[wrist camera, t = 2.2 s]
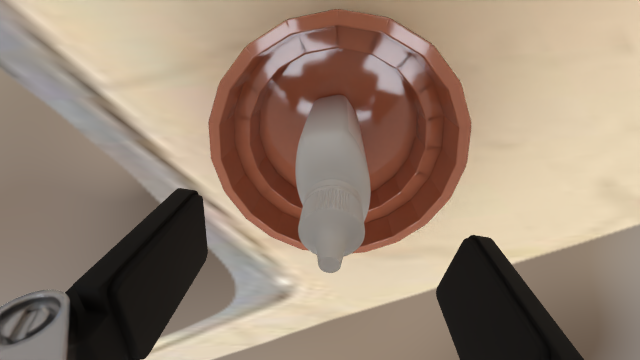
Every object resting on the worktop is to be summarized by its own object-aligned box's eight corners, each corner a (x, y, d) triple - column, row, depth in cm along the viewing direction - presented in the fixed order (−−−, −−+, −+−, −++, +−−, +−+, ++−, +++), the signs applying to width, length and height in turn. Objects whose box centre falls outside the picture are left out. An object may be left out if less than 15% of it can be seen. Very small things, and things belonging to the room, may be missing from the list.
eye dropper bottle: (380, 106, 17) (441, 217, 7) (350, 175, 20) (361, 329, 10) (318, 85, 17) (282, 168, 6) (296, 158, 20) (246, 300, 9)
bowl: (238, -2, 15) (197, -16, 11) (474, 38, 15) (527, 40, 11) (241, 196, 22) (216, 236, 18) (402, 222, 22) (417, 268, 18)
